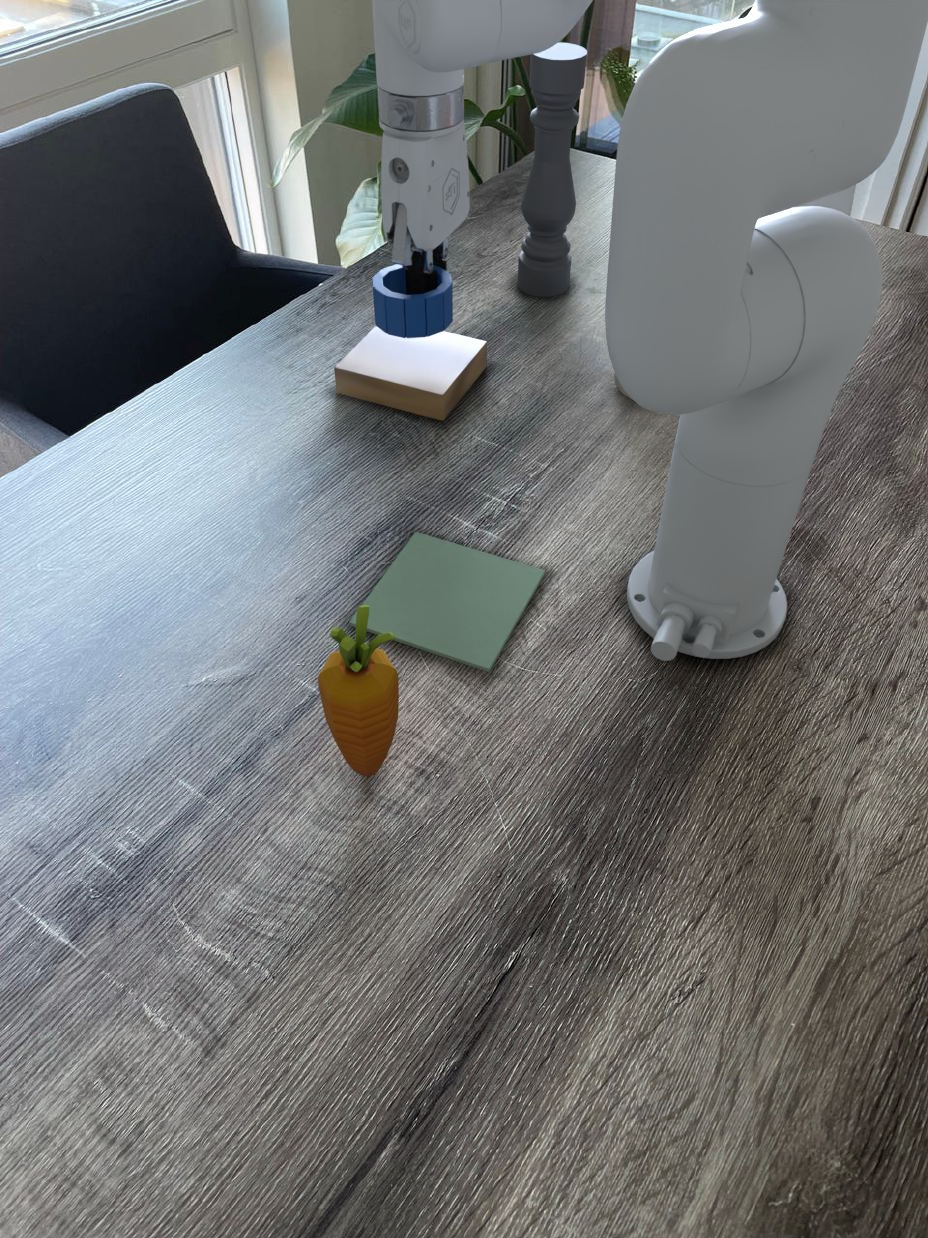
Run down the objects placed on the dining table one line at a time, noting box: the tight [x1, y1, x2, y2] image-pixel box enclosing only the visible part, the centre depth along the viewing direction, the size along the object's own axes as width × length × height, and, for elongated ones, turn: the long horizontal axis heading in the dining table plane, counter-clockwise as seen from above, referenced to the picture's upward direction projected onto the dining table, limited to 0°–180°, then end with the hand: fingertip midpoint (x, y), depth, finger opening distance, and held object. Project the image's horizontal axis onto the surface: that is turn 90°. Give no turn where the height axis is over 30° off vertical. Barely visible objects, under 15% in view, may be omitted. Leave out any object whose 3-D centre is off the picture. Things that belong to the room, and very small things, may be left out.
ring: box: [371, 264, 454, 338], centre depth 97 cm, size 8×8×4 cm
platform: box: [333, 325, 488, 422], centre depth 103 cm, size 11×12×3 cm
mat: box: [348, 531, 546, 673], centre depth 81 cm, size 12×12×1 cm
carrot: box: [317, 604, 400, 778], centre depth 63 cm, size 5×5×15 cm
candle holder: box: [516, 41, 588, 298], centre depth 109 cm, size 6×6×25 cm
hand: (427, 300), depth 100 cm, fingers closed on ring, 1 cm apart
